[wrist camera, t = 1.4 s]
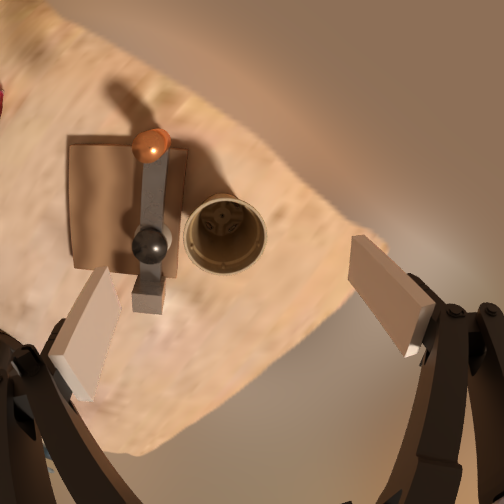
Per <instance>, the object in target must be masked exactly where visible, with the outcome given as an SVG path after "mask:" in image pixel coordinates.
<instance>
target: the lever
mask: <svg viewBox="0 0 504 504" xmlns="http://www.w3.org/2000/svg"><path fill="white" fill-rule="evenodd" d="M170 146H171V138H170V135H169V134H168V132H166V131H165V130H163V129H159V128H157V129H152V130H148V131H144V132H142V133H140V134H138V135H137V136H136V137H135V139H134V140H133V143H132V153H133V155H134V157H135V158H136V159H137V160H138V161H140V162H142V163H144V165H143V178H142V195H141V218H140V231H139V232H138V233H137V234H136V236H135V237H134V239H133V242H132V252H133V254H134V256H135V257H136V258H137V259H138V260H139V261H140V274H138V276H137V279H136V282H135V285H134V288H133V291H132V307H133V312H139V313H149V314H159V315H162V311H163V305H164V299H165V285H166V276H162V260H163V259H164V258H165V256H166V253H167V249H168V242H167V239H166V237H165V236H164V234H163V226H164V210H165V196H166V184H167V174H168V164H169V154H170Z"/></svg>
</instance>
